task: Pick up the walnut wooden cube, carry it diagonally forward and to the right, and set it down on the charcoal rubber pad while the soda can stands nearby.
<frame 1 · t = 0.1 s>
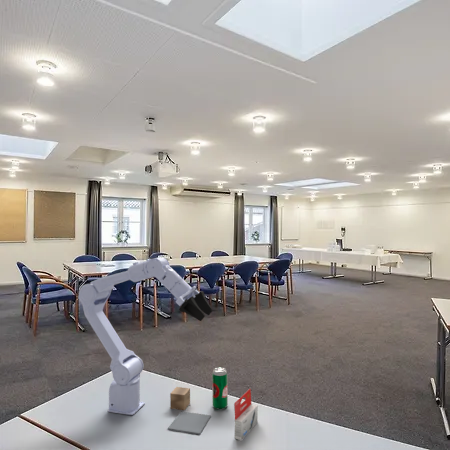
hand: (207, 315, 105), 32 cm above the table, tool tilted 50°, fingers open, 7 cm apart
pad: (189, 422, 102), on the table
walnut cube: (180, 406, 113), on the table
ink cartridge box: (246, 431, 98), on the table
soda can: (220, 406, 112), on the table
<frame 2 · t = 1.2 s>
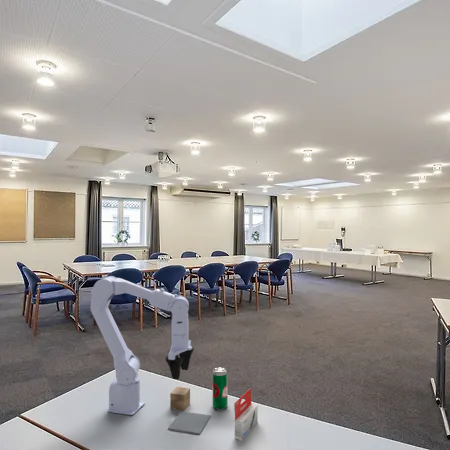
hand: (180, 374, 113), 10 cm above the table, tool pointing down, fingers open, 7 cm apart
nothing on the table moved.
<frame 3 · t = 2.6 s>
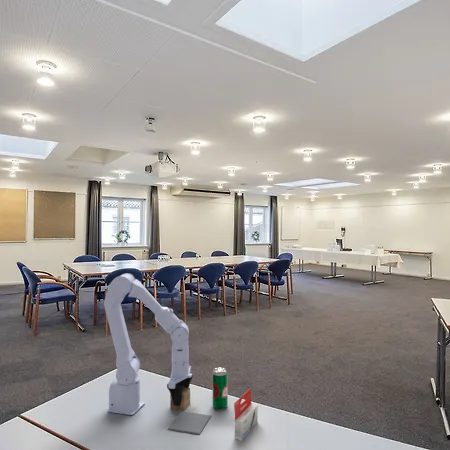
hand: (180, 401, 113), 1 cm above the table, tool pointing down, fingers closed on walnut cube, 5 cm apart
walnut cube: (180, 405, 113), on the table, touching gripper
everything else where it was.
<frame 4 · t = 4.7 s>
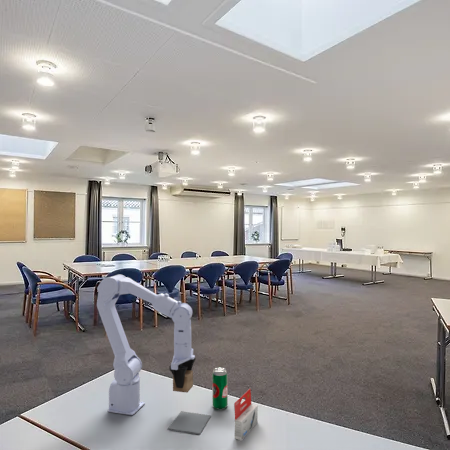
hand: (183, 383, 110), 8 cm above the table, tool pointing down, fingers closed on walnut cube, 5 cm apart
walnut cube: (183, 388, 110), point 7 cm above the table, touching gripper
everything else where it was.
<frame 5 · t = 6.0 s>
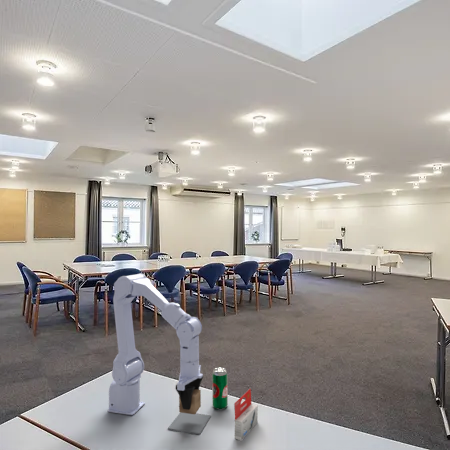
hand: (189, 404, 102), 6 cm above the table, tool pointing down, fingers closed on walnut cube, 5 cm apart
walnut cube: (190, 409, 102), point 4 cm above the table, touching gripper
everything else where it was.
when the fingers open (3 cm above the table, at t = 7.0 s): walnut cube drops 1 cm, resting on pad.
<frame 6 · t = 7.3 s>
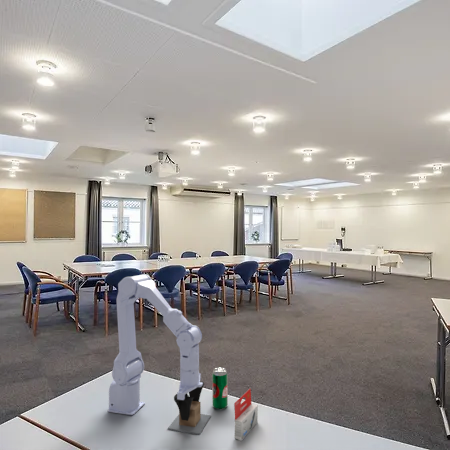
hand: (189, 413, 102), 3 cm above the table, tool pointing down, fingers open, 7 cm apart
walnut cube: (190, 421, 102), resting on pad
everything else where it was.
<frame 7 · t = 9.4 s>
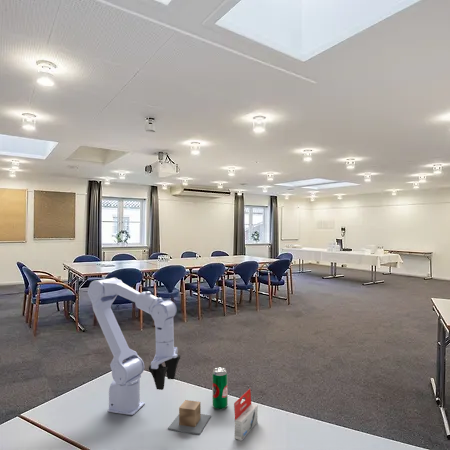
hand: (165, 383, 106), 10 cm above the table, tool pointing down, fingers open, 7 cm apart
nothing on the table moved.
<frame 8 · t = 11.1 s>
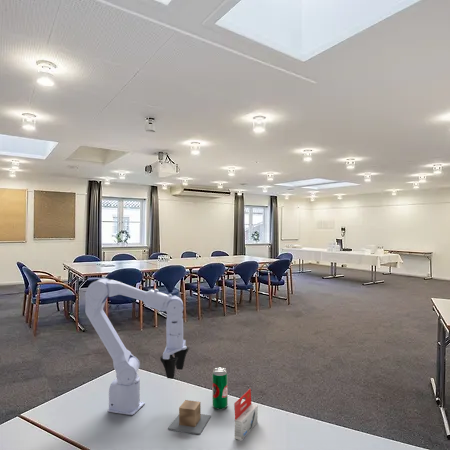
hand: (175, 373, 114), 10 cm above the table, tool pointing down, fingers open, 7 cm apart
nothing on the table moved.
at the end: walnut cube 0.0 cm from the pad (horizontally); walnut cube tilted 0°; the gripper is holding nothing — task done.
